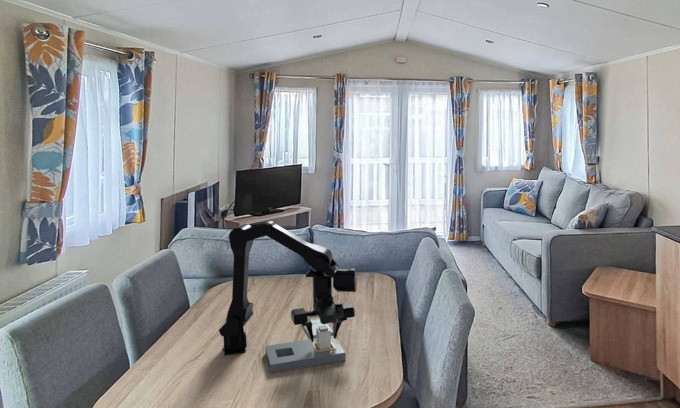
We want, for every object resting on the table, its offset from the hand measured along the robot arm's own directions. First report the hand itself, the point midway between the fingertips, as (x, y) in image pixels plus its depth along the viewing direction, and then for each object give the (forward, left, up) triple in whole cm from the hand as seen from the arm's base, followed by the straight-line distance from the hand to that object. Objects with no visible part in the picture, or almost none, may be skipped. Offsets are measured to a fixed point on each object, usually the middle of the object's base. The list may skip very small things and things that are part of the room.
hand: (323, 340), depth 130 cm
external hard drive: (+2, +18, -5) cm, 19 cm away
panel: (-6, 0, -4) cm, 8 cm away
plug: (0, 0, -4) cm, 4 cm away
